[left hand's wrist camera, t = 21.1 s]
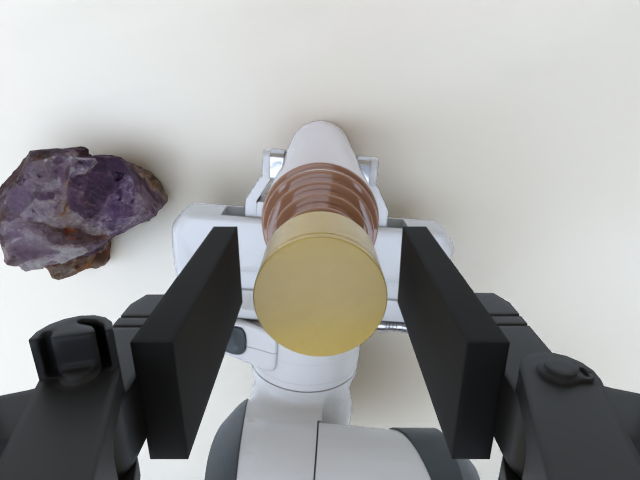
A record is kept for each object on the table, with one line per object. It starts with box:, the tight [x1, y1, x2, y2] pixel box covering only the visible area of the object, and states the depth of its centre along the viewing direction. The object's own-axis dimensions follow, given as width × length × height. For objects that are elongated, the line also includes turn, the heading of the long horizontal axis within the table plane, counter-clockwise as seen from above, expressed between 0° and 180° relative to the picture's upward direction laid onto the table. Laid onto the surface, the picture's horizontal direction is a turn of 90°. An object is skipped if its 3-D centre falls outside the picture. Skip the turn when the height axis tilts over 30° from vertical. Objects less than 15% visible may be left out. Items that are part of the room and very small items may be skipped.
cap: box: [253, 211, 388, 356], centre depth 13 cm, size 4×4×2 cm
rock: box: [0, 146, 168, 280], centre depth 34 cm, size 12×9×10 cm
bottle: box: [261, 121, 379, 246], centre depth 25 cm, size 5×5×26 cm
